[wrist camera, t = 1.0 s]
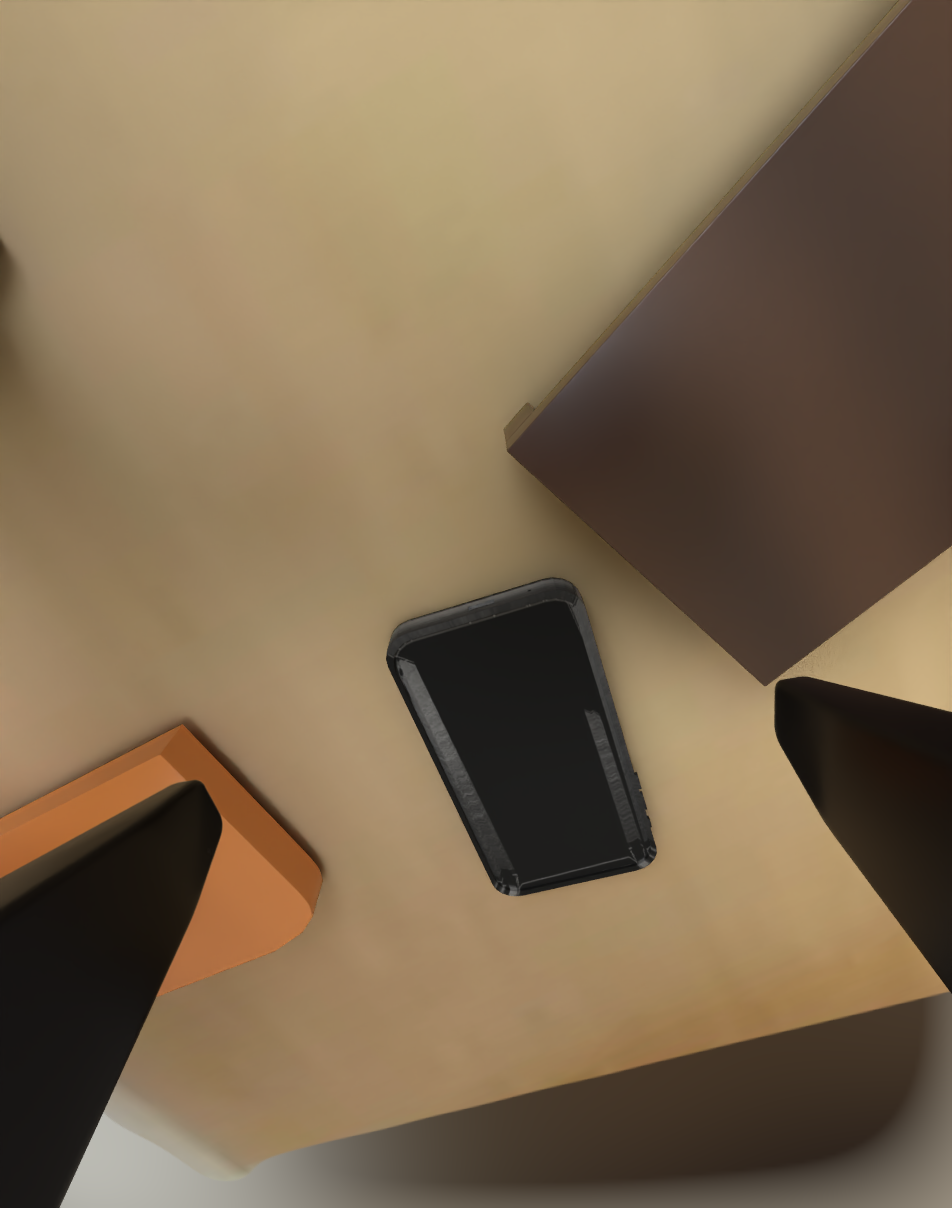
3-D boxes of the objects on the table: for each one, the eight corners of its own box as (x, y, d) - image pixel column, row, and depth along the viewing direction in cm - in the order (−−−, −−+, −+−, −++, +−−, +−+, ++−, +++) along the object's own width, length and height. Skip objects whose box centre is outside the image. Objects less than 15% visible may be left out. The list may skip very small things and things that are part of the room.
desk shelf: (727, 636, 23) (765, 687, 20) (503, 429, 20) (506, 450, 17) (1223, 234, 17) (1387, 217, 14) (1021, -161, 14) (1178, -301, 11)
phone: (500, 900, 28) (376, 643, 22) (499, 880, 29) (380, 628, 23) (663, 864, 27) (580, 581, 21) (657, 844, 28) (576, 568, 22)
